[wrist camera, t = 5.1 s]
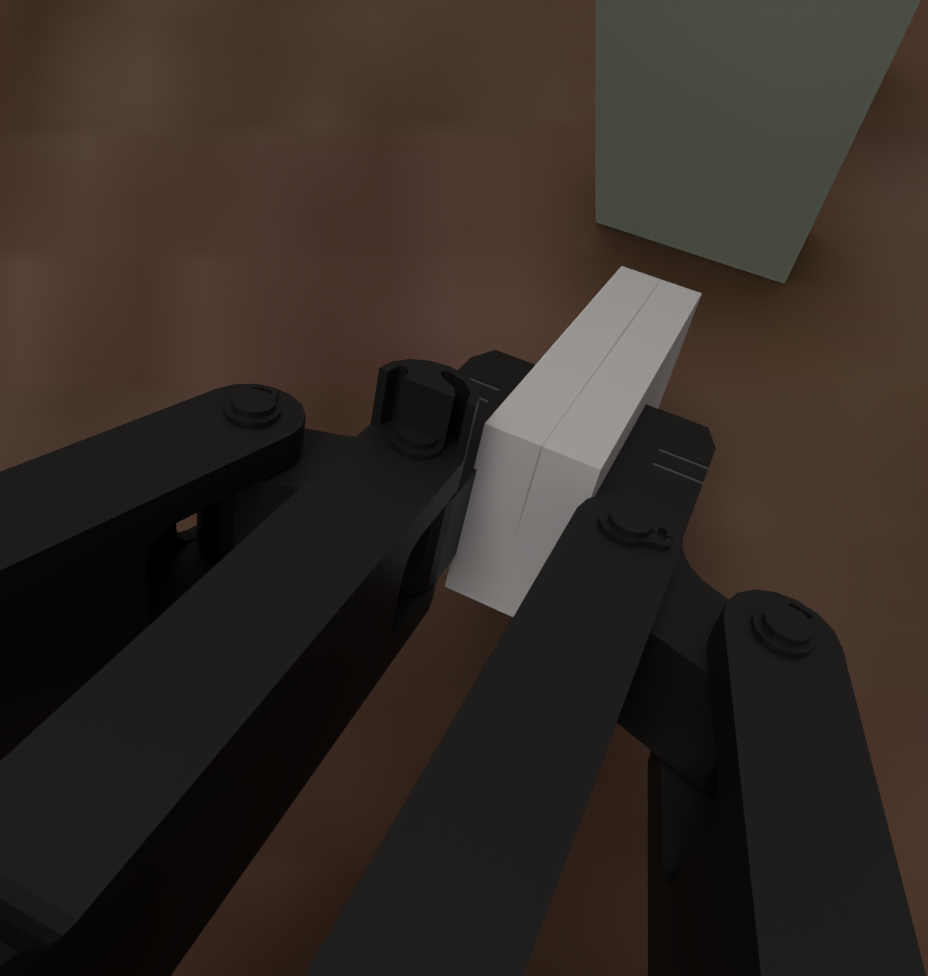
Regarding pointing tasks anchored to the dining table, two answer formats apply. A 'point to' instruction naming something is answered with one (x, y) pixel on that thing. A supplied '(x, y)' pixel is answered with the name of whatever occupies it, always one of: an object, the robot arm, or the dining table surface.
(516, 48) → the dining table surface
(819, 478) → the dining table surface
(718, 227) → the domino
